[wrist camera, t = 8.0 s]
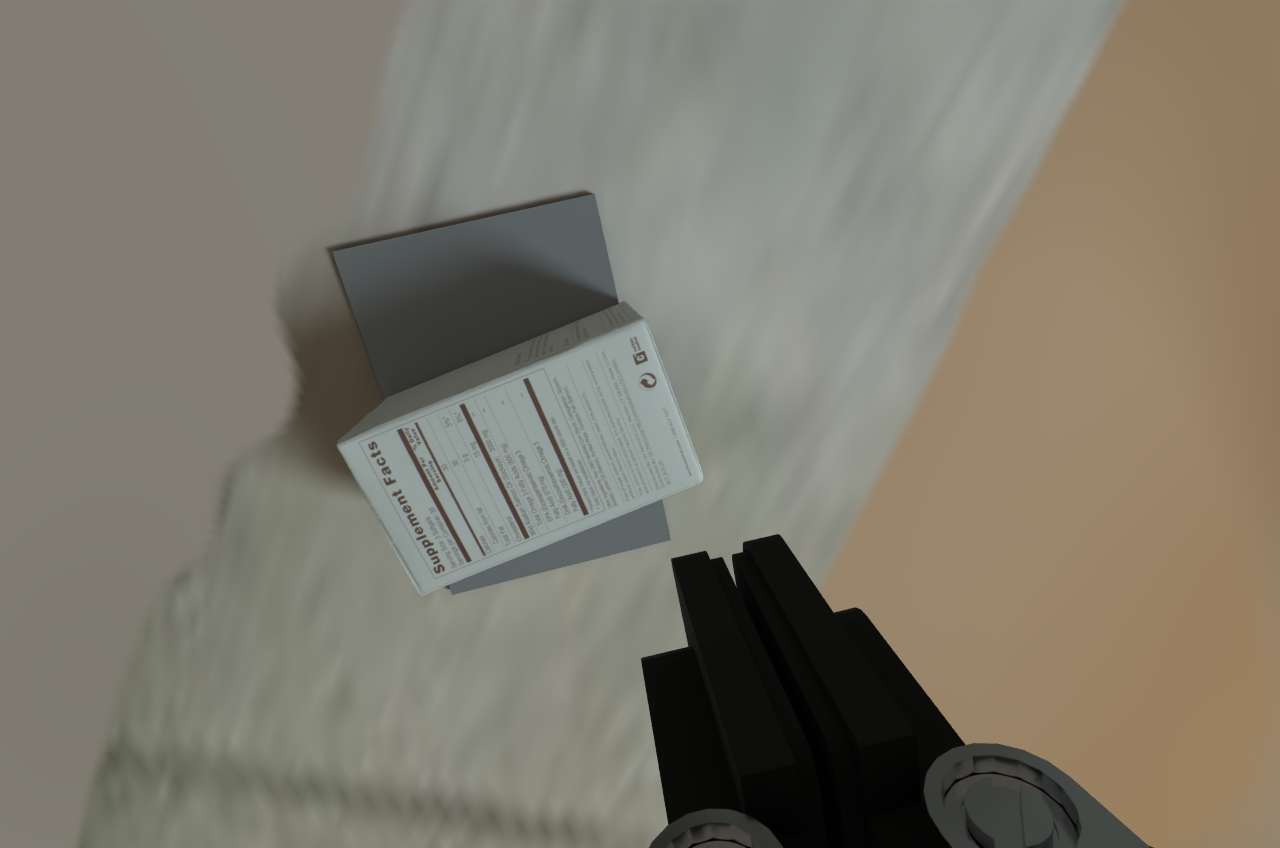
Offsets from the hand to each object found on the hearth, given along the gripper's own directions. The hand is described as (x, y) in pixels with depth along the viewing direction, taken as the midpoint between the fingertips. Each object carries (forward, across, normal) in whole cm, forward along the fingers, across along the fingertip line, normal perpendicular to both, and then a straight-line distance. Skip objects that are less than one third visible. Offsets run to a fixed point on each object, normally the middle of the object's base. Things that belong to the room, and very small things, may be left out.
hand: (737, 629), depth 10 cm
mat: (+23, +6, +2) cm, 24 cm away
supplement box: (+19, -2, +1) cm, 19 cm away
